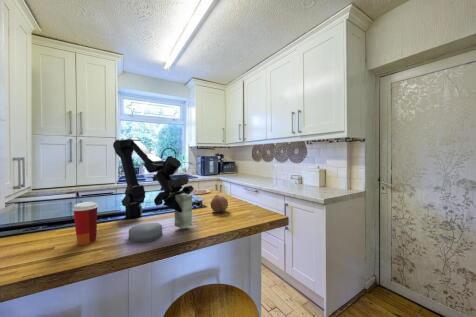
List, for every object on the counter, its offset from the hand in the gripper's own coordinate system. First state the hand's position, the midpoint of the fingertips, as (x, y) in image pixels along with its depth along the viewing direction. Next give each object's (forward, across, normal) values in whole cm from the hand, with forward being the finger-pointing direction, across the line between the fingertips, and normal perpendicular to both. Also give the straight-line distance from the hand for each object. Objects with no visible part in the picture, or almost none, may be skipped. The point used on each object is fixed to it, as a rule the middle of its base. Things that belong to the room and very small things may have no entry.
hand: (185, 210), depth 88 cm
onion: (+6, +27, +6) cm, 28 cm away
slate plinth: (-1, -12, +13) cm, 18 cm away
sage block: (+4, 0, +6) cm, 7 cm away
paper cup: (-11, -26, +23) cm, 36 cm away
